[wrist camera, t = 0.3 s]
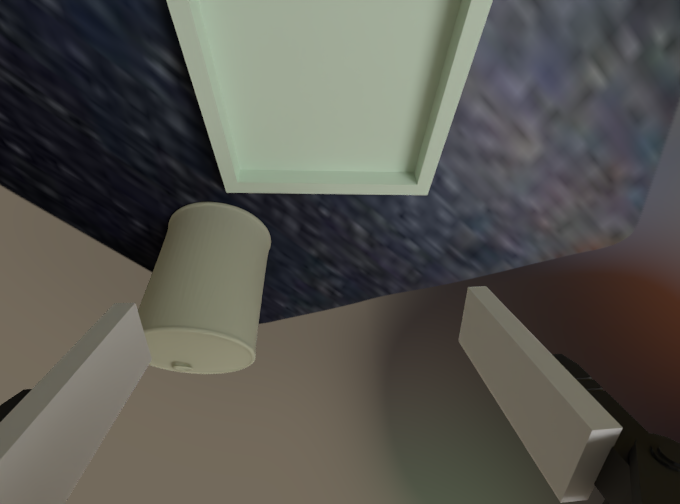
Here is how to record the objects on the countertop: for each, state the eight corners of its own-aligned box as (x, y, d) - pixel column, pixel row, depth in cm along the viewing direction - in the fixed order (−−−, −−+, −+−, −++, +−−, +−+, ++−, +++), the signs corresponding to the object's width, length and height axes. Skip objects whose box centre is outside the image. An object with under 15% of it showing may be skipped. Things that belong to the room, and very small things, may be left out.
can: (160, 246, 33) (113, 370, 26) (181, 185, 27) (128, 325, 20) (250, 272, 37) (232, 385, 30) (287, 224, 31) (275, 353, 24)
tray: (151, -109, 14) (134, -101, 13) (504, -91, 15) (519, -81, 13) (231, 174, 26) (226, 192, 25) (422, 177, 27) (427, 195, 25)
